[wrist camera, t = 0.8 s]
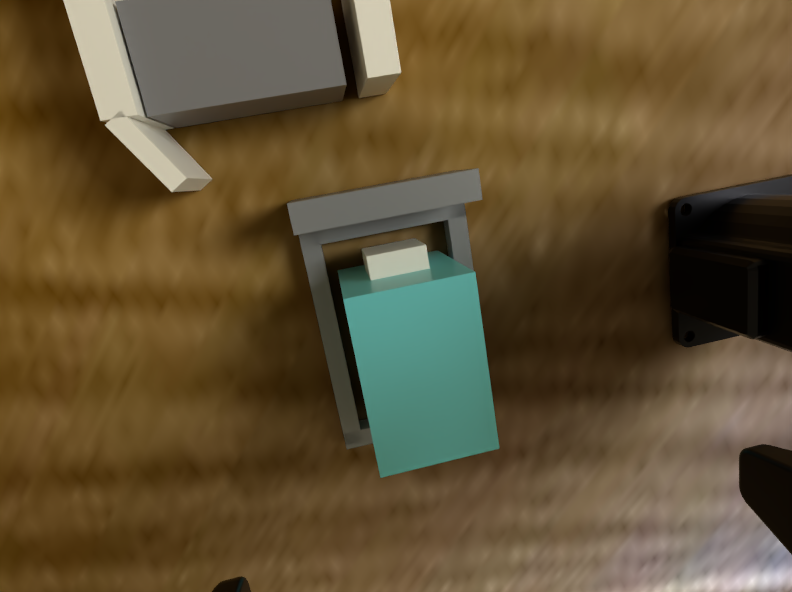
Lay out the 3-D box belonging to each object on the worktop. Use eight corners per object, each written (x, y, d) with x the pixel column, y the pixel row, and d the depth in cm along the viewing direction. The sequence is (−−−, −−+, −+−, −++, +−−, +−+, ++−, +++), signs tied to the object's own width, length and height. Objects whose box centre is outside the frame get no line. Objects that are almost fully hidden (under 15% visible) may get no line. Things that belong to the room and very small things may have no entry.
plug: (333, 249, 19) (337, 272, 14) (433, 230, 19) (471, 245, 14) (366, 408, 20) (380, 477, 16) (458, 387, 21) (499, 448, 16)
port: (396, 155, 18) (413, 149, 15) (-74, 238, 17) (-175, 253, 13) (335, -207, 15) (339, -315, 12) (-236, -151, 14) (-416, -259, 10)
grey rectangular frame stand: (292, 200, 18) (286, 203, 15) (453, 170, 19) (478, 168, 16) (345, 439, 21) (349, 481, 18) (487, 405, 21) (513, 441, 18)
